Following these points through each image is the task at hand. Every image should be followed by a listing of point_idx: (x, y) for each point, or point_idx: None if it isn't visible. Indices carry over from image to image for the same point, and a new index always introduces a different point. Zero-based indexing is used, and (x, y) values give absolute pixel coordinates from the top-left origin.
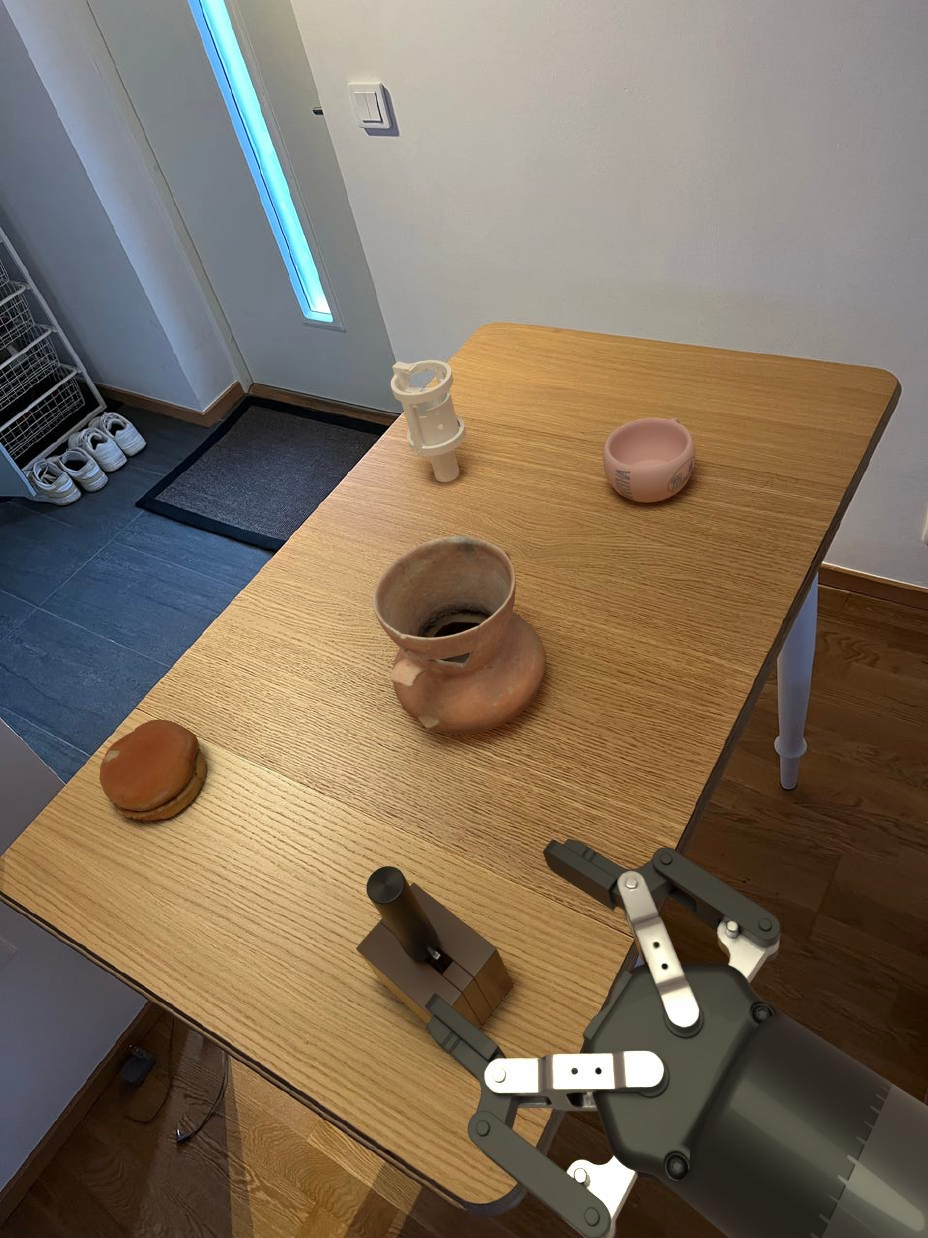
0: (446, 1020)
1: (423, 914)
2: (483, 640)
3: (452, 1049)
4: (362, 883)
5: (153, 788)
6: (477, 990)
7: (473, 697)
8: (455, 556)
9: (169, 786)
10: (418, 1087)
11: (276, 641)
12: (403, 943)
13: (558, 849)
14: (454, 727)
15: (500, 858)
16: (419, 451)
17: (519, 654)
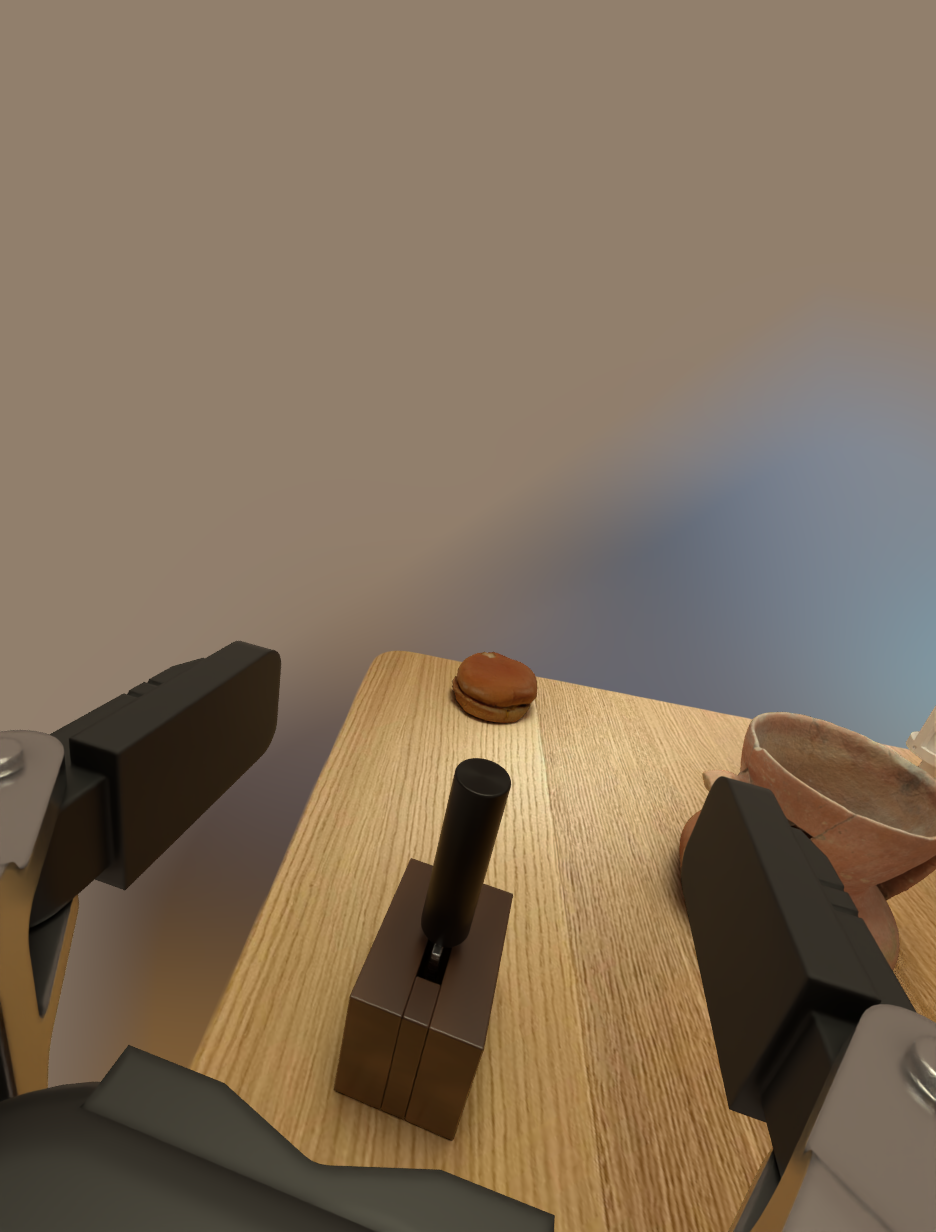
0: (208, 663)
1: (475, 879)
2: (841, 839)
3: (136, 697)
4: (488, 876)
5: (480, 682)
6: (416, 1053)
7: None
8: (884, 779)
9: (488, 692)
10: (281, 1041)
11: (646, 729)
12: (430, 880)
13: (758, 796)
14: None
15: (604, 1037)
16: (914, 748)
17: None
